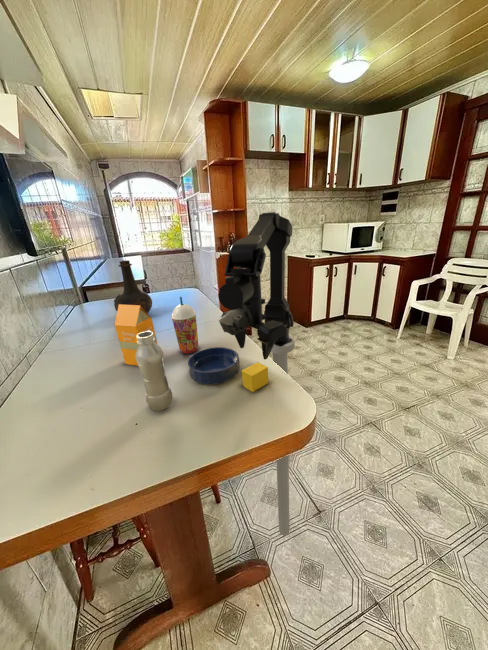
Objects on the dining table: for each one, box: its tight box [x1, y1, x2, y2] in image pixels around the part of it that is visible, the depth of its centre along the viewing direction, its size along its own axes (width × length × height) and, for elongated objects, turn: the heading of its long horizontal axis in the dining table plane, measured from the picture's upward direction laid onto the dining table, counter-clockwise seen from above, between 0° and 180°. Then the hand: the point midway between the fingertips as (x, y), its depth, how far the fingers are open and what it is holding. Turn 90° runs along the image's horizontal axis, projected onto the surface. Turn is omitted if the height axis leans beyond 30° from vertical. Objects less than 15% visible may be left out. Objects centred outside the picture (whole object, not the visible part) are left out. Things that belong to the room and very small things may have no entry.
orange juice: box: [113, 304, 158, 367], centre depth 88 cm, size 8×9×20 cm
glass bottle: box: [113, 260, 153, 314], centre depth 132 cm, size 18×18×28 cm
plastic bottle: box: [135, 331, 174, 412], centre depth 65 cm, size 6×7×20 cm
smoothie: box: [170, 296, 199, 354], centre depth 93 cm, size 8×8×20 cm
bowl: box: [187, 346, 241, 385], centre depth 81 cm, size 15×15×4 cm
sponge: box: [241, 361, 269, 393], centre depth 73 cm, size 6×4×5 cm, turn 131°
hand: (253, 353), depth 71 cm, fingers open, 9 cm apart
